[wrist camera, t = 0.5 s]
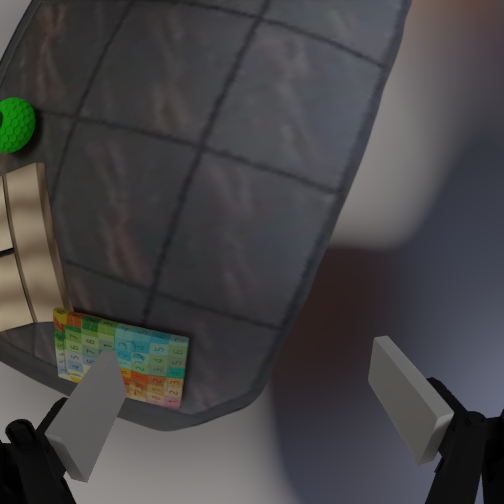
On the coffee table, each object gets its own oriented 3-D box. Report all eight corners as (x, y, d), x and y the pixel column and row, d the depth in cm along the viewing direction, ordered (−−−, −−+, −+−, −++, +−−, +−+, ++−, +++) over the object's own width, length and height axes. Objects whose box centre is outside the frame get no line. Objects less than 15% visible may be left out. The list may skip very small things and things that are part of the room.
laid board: (12, 174, 37) (2, 175, 35) (44, 162, 37) (35, 162, 35) (42, 316, 42) (34, 322, 40) (74, 314, 42) (67, 320, 40)
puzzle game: (179, 412, 41) (56, 379, 39) (183, 393, 46) (67, 364, 43) (187, 345, 39) (49, 312, 36) (191, 329, 43) (64, 300, 41)
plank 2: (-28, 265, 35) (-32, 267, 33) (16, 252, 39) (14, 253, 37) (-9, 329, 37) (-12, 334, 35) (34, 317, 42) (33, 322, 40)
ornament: (38, 92, 35) (-1, 78, 25) (51, 134, 36) (10, 126, 27) (4, 123, 35) (-37, 116, 25) (15, 164, 37) (-27, 163, 27)
